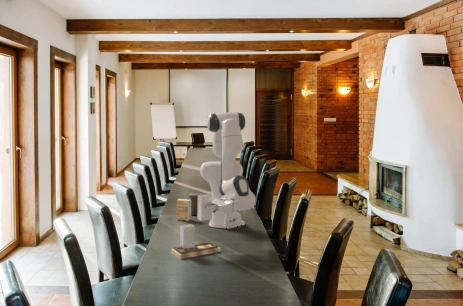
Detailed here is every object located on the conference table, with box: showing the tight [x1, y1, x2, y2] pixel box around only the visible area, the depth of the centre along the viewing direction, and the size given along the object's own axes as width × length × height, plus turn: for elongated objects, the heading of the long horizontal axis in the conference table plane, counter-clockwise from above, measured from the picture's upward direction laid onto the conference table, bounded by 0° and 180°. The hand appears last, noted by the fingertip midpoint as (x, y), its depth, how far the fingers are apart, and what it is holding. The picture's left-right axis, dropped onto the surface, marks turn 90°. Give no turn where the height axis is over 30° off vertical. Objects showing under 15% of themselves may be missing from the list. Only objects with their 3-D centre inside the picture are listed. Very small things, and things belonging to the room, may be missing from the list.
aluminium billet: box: [196, 193, 212, 222], centre depth 216 cm, size 6×4×12 cm, turn 122°
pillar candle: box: [188, 192, 204, 216], centre depth 294 cm, size 10×10×15 cm
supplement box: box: [176, 198, 192, 222], centre depth 278 cm, size 8×5×13 cm, turn 73°
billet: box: [179, 223, 196, 251], centre depth 213 cm, size 6×4×12 cm, turn 123°
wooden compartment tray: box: [170, 241, 221, 260], centre depth 216 cm, size 22×10×3 cm, turn 122°
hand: (203, 206), depth 216 cm, fingers closed on aluminium billet, 4 cm apart
